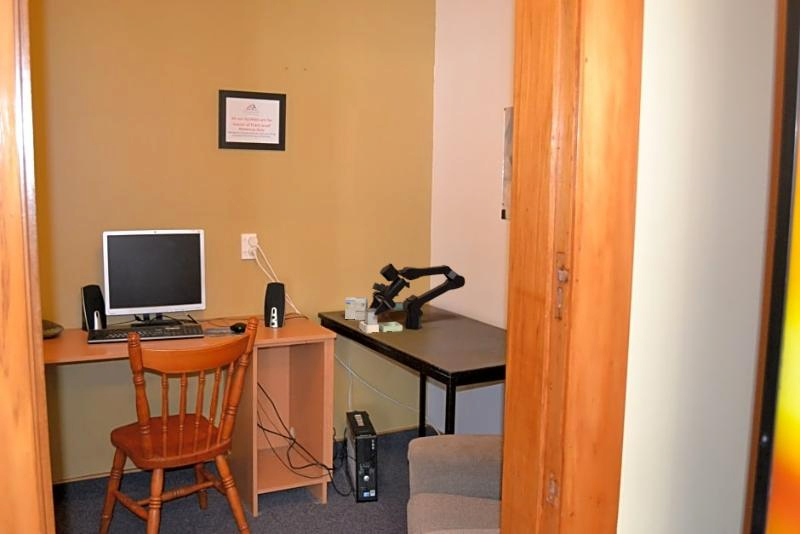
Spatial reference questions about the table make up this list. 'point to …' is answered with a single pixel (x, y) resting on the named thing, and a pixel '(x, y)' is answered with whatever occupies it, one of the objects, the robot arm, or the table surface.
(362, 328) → the bay
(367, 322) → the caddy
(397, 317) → the book
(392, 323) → the tray
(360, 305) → the light bulb box
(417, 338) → the table surface
